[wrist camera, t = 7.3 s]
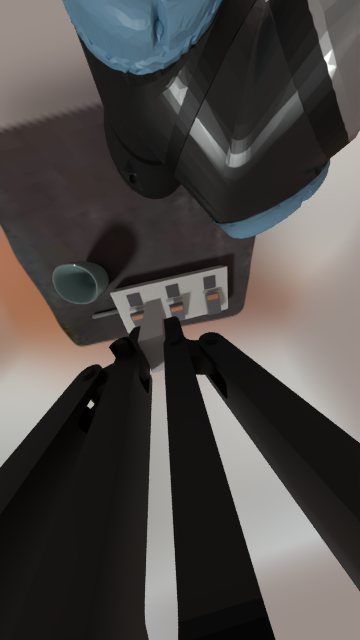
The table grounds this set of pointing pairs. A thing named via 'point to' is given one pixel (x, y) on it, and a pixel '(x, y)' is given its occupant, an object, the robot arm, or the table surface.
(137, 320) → the rocker
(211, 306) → the rocker
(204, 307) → the power strip
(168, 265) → the table surface
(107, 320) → the table surface
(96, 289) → the cup
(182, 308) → the rocker
